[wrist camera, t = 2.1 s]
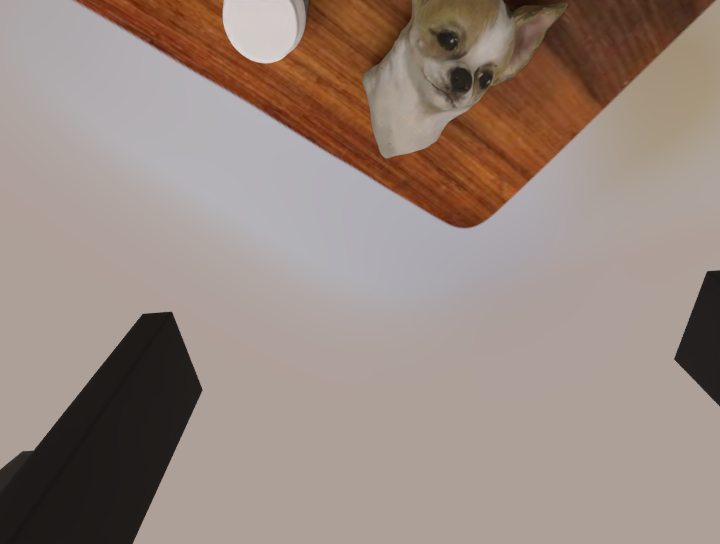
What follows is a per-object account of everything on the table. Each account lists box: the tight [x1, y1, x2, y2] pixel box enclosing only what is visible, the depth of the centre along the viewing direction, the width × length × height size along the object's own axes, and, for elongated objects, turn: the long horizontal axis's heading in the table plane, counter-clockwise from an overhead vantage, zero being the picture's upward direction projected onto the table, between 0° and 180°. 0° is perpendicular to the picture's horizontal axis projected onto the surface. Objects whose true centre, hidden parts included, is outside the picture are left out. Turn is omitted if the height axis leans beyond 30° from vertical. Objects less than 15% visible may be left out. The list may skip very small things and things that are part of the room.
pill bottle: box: [223, 0, 308, 63], centre depth 25 cm, size 5×5×8 cm
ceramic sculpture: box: [363, 0, 569, 158], centre depth 28 cm, size 11×9×15 cm
